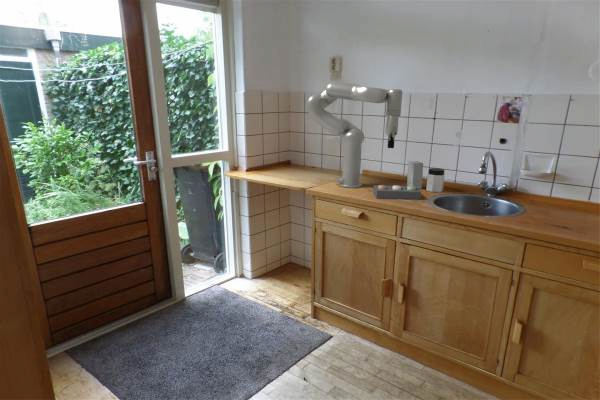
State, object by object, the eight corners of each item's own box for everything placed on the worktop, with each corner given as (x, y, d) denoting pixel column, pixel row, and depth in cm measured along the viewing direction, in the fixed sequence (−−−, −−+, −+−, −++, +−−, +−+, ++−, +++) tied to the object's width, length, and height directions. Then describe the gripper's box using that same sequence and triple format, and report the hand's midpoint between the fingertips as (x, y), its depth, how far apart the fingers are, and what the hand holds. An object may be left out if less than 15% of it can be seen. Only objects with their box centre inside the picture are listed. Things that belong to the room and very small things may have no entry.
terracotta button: (378, 193, 202) (378, 186, 201) (376, 191, 206) (377, 184, 205) (386, 193, 202) (387, 186, 201) (385, 191, 206) (385, 185, 205)
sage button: (407, 194, 201) (408, 187, 200) (405, 192, 205) (406, 185, 204) (416, 194, 201) (416, 187, 200) (414, 192, 205) (414, 185, 204)
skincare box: (421, 189, 220) (424, 163, 216) (411, 189, 219) (414, 163, 215) (415, 185, 228) (418, 160, 224) (405, 186, 227) (408, 160, 223)
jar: (423, 189, 220) (425, 168, 217) (434, 188, 223) (436, 167, 220) (434, 193, 212) (436, 171, 209) (445, 191, 215) (448, 170, 212)
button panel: (376, 198, 199) (377, 190, 198) (373, 192, 210) (373, 185, 209) (420, 199, 198) (421, 192, 197) (414, 193, 209) (415, 186, 208)
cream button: (392, 193, 201) (393, 187, 201) (391, 191, 206) (391, 185, 205) (401, 194, 201) (402, 187, 200) (399, 191, 206) (400, 185, 205)
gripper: (383, 112, 215) (381, 146, 220) (388, 113, 201) (385, 149, 205) (397, 112, 215) (394, 146, 220) (403, 114, 200) (400, 150, 205)
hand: (390, 147), depth 212 cm, fingers closed
